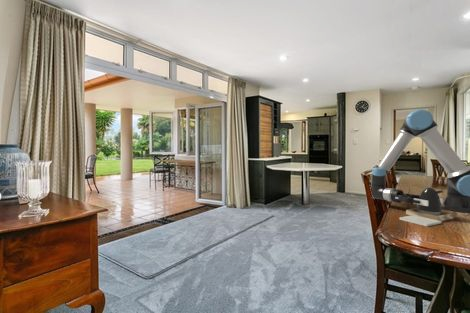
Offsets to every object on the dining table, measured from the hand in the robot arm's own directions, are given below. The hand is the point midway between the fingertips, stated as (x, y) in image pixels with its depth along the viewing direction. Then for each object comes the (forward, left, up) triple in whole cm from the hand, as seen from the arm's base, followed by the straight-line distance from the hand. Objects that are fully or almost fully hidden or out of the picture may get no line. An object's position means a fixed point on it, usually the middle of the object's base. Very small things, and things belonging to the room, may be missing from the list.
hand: (435, 202), depth 126 cm
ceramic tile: (+15, +1, -8) cm, 17 cm away
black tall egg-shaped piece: (0, -3, -8) cm, 9 cm away
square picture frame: (0, -3, -8) cm, 8 cm away
